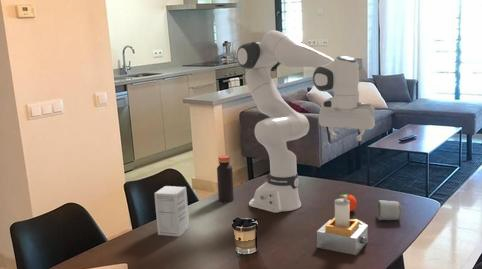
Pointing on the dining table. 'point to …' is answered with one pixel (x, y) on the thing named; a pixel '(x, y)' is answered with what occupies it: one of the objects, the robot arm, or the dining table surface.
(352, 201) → the clementine
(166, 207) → the supplement box
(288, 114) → the robot arm
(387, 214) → the ceramic mug
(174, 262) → the dining table surface
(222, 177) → the bottle
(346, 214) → the spout can
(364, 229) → the block
